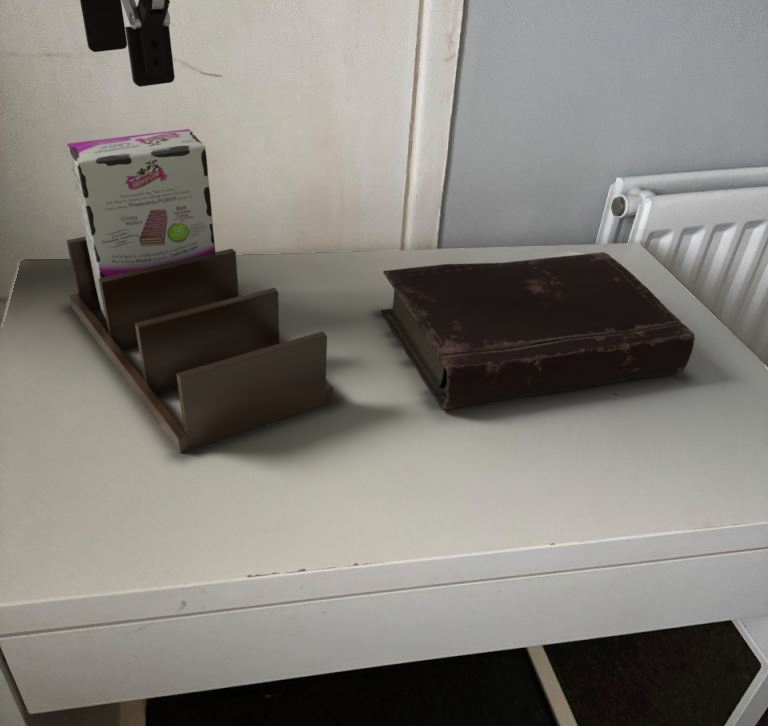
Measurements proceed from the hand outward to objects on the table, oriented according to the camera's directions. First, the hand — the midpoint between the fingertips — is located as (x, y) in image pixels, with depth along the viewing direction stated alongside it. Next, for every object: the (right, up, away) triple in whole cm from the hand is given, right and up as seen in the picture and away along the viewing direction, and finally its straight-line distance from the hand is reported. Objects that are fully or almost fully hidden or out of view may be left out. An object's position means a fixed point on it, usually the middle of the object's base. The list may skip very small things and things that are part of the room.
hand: (130, 65), depth 67 cm
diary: (+35, -20, +16) cm, 43 cm away
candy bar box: (-2, -16, +16) cm, 23 cm away
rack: (+3, -21, +11) cm, 24 cm away
